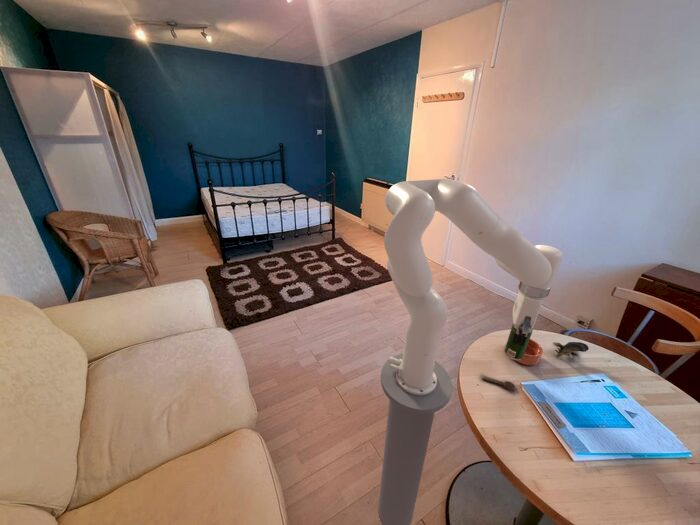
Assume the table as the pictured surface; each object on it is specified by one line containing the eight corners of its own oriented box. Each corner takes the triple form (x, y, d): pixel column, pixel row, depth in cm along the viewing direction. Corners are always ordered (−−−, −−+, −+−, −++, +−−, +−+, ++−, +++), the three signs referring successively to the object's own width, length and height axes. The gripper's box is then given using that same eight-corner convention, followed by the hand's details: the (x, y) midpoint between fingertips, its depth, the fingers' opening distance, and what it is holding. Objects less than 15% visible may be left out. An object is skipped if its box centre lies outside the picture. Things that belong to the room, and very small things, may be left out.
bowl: (506, 360, 96) (509, 350, 94) (506, 342, 104) (509, 332, 102) (540, 370, 92) (544, 360, 90) (537, 350, 100) (541, 341, 98)
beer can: (520, 363, 87) (531, 332, 82) (501, 355, 90) (511, 324, 85) (524, 354, 91) (535, 324, 86) (506, 346, 94) (516, 317, 89)
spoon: (482, 381, 88) (482, 379, 88) (482, 374, 90) (483, 373, 90) (514, 392, 84) (515, 390, 84) (514, 385, 87) (514, 383, 87)
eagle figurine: (573, 366, 92) (593, 355, 95) (565, 345, 93) (585, 335, 95) (552, 361, 100) (571, 351, 102) (545, 342, 100) (564, 332, 102)
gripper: (517, 272, 88) (503, 319, 96) (520, 299, 74) (503, 351, 82) (545, 277, 85) (528, 325, 93) (554, 307, 72) (533, 360, 79)
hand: (517, 337), depth 88 cm, fingers closed on beer can, 5 cm apart
